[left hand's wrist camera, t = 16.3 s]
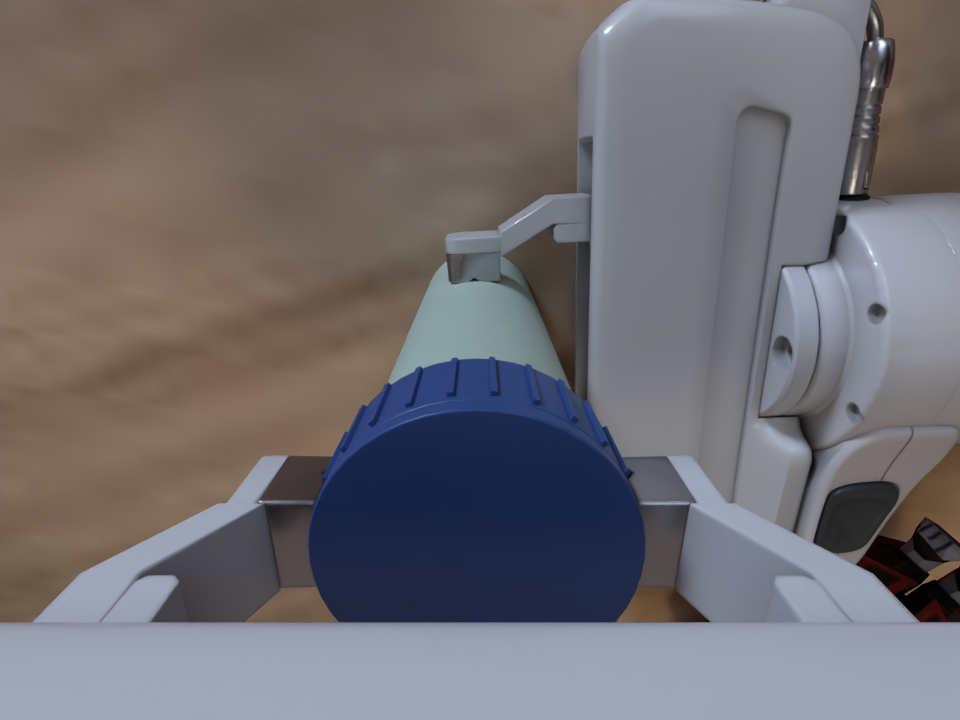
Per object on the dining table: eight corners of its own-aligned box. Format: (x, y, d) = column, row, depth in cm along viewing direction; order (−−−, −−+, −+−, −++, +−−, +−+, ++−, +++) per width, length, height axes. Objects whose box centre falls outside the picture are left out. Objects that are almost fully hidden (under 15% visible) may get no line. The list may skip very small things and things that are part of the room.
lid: (372, 605, 11) (348, 698, 9) (304, 375, 9) (258, 431, 7) (623, 577, 11) (654, 667, 9) (608, 333, 9) (645, 379, 7)
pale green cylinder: (413, 265, 23) (295, 442, 8) (518, 238, 23) (591, 374, 8) (442, 362, 25) (386, 654, 10) (540, 339, 25) (635, 607, 10)
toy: (1181, 744, 16) (788, 910, 21) (1100, 658, 23) (821, 799, 28) (837, 445, 22) (606, 628, 28) (857, 451, 29) (670, 596, 35)
